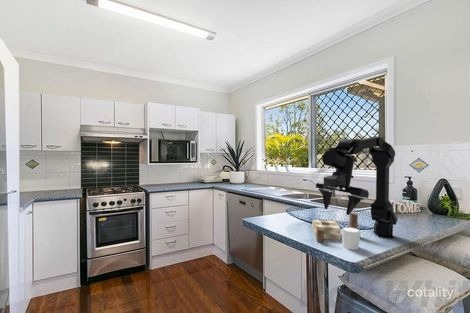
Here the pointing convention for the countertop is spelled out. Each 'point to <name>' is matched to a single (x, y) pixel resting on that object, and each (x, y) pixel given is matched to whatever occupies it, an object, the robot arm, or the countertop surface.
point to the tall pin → (353, 220)
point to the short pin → (319, 235)
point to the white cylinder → (351, 238)
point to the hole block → (327, 228)
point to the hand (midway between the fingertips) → (336, 211)
